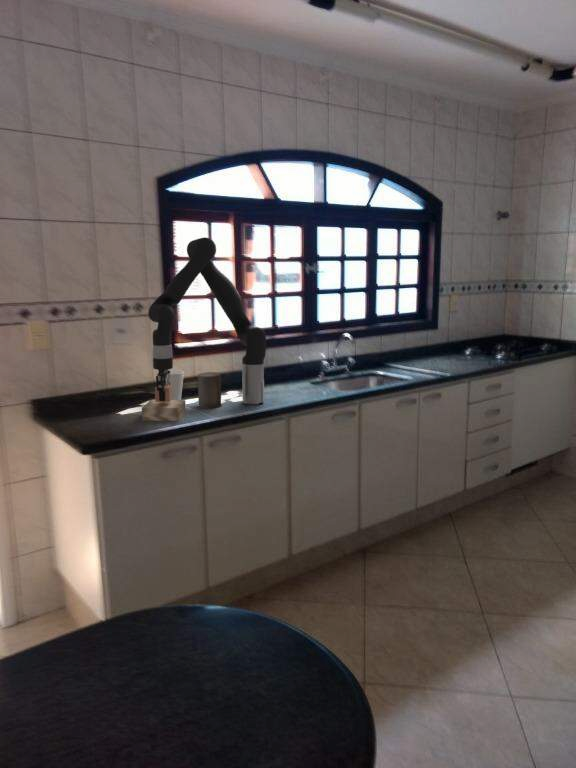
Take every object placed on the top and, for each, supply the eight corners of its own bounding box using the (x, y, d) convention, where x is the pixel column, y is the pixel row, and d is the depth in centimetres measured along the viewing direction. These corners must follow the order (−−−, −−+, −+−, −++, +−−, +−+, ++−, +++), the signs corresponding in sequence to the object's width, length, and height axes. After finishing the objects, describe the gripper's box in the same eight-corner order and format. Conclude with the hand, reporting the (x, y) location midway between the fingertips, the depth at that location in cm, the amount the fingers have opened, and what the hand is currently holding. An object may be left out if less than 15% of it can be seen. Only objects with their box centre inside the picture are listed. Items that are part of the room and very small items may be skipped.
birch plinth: (185, 412, 232) (185, 400, 231) (178, 420, 218) (178, 408, 217) (151, 411, 232) (150, 399, 231) (142, 420, 219) (141, 407, 218)
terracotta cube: (172, 399, 227) (172, 385, 226) (169, 402, 221) (169, 388, 220) (158, 398, 227) (158, 385, 226) (155, 402, 221) (154, 388, 220)
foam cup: (162, 404, 245) (161, 374, 243) (161, 399, 254) (160, 370, 252) (185, 403, 248) (184, 373, 245) (183, 398, 257) (182, 370, 254)
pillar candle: (225, 404, 246) (224, 369, 244) (214, 409, 238) (213, 373, 235) (205, 402, 250) (204, 368, 247) (194, 407, 241) (192, 372, 238)
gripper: (168, 359, 214) (169, 403, 217) (176, 353, 228) (177, 395, 231) (148, 359, 214) (149, 403, 217) (157, 353, 228) (158, 395, 231)
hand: (164, 398), depth 224 cm, fingers closed on terracotta cube, 5 cm apart
